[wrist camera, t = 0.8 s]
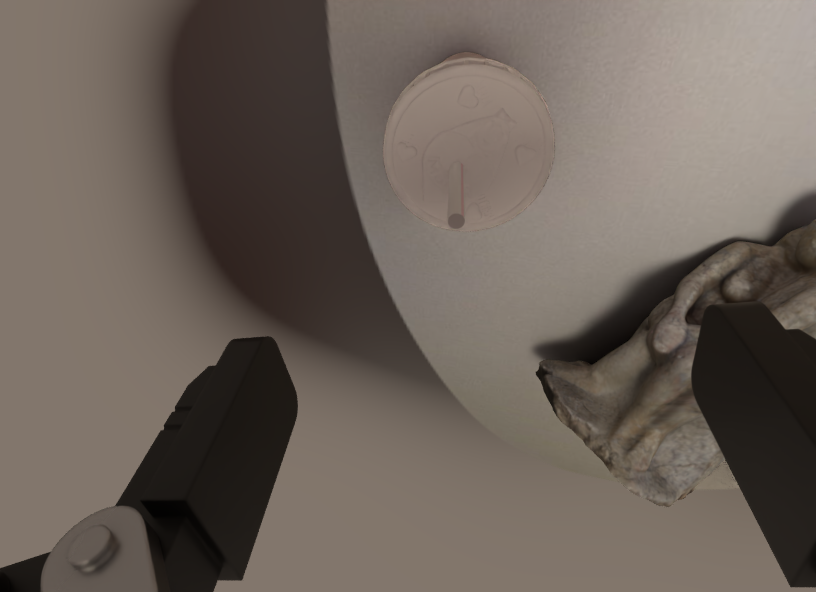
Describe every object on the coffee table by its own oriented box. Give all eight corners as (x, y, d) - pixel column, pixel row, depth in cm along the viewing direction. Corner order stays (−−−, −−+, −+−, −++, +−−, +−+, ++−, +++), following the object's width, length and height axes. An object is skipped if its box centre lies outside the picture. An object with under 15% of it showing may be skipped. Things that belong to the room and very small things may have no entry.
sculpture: (715, 141, 32) (879, 253, 31) (536, 346, 39) (665, 442, 38) (783, 137, 22) (1032, 302, 21) (524, 415, 28) (700, 549, 27)
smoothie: (379, 94, 27) (320, 211, 15) (465, -11, 24) (471, 40, 12) (464, 173, 29) (468, 327, 18) (554, 86, 26) (627, 206, 14)
